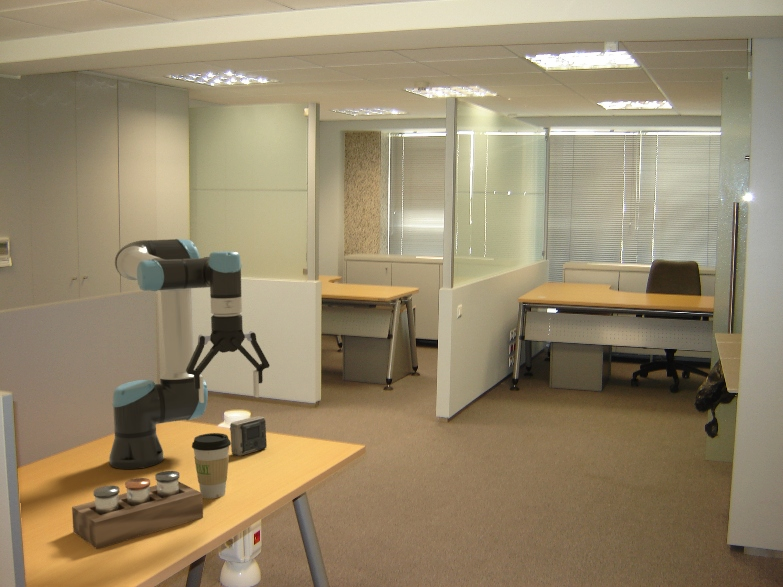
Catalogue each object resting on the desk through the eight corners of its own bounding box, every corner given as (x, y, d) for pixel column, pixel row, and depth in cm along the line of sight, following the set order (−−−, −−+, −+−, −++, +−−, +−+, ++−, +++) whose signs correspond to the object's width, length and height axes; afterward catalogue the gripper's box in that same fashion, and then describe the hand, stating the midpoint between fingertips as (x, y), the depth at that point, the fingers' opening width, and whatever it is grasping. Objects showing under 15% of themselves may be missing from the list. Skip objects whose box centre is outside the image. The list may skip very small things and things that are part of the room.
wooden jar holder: (73, 532, 186) (72, 506, 185) (176, 503, 203) (175, 480, 202) (96, 549, 176) (95, 522, 175) (203, 517, 193) (202, 493, 193)
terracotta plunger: (122, 510, 189) (120, 481, 189) (144, 504, 193) (143, 476, 192) (132, 516, 185) (131, 487, 184) (155, 510, 189) (154, 482, 188)
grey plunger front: (90, 518, 184) (89, 489, 184) (114, 512, 188) (113, 483, 187) (100, 525, 180) (99, 495, 179) (124, 518, 184) (123, 489, 183)
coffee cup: (196, 488, 214) (194, 433, 212) (234, 486, 215) (232, 431, 213) (190, 501, 204) (188, 443, 203) (230, 500, 205) (228, 442, 203)
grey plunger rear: (152, 502, 194) (151, 474, 194) (173, 496, 198) (172, 469, 197) (163, 508, 190) (162, 480, 190) (184, 502, 194) (183, 474, 193)
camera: (258, 445, 252) (257, 414, 251) (270, 449, 248) (269, 417, 247) (227, 454, 244) (226, 421, 243) (239, 458, 240) (238, 425, 239)
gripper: (176, 319, 191) (179, 407, 193) (280, 313, 200) (282, 397, 202) (172, 315, 198) (175, 400, 200) (272, 309, 207) (274, 391, 209)
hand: (229, 399), depth 201 cm, fingers open, 13 cm apart
